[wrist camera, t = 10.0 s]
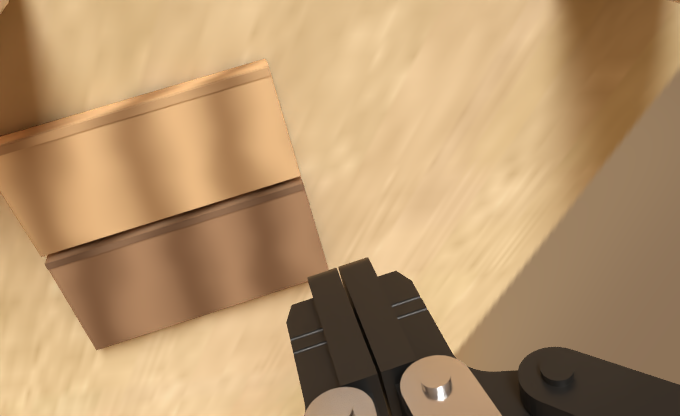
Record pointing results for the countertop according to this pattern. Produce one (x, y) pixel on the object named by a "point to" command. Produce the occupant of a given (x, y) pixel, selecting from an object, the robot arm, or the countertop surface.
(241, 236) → the walnut board
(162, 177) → the oak plank
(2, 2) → the supplement can
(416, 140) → the countertop surface
